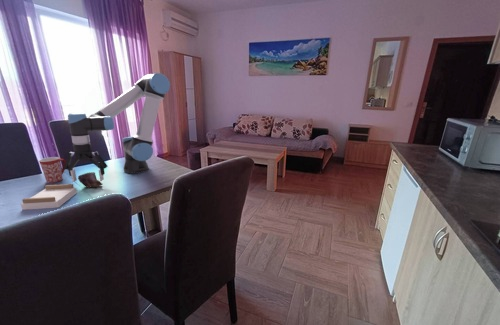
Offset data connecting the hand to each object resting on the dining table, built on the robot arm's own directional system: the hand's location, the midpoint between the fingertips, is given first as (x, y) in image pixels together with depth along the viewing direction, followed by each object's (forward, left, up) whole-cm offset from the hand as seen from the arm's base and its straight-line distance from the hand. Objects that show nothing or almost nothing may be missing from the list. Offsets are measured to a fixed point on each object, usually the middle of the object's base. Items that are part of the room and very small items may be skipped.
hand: (88, 180), depth 124 cm
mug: (+23, -13, -4) cm, 27 cm away
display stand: (+10, +16, -4) cm, 19 cm away
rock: (-1, 0, -4) cm, 4 cm away
